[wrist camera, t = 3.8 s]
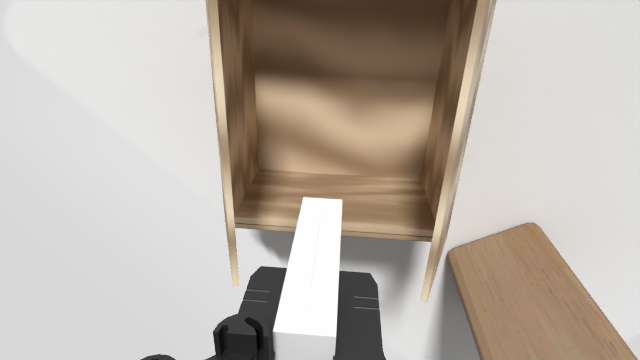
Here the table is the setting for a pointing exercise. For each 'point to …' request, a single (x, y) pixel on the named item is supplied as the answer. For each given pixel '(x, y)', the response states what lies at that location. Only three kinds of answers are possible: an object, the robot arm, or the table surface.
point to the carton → (342, 109)
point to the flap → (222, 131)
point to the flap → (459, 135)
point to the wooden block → (530, 301)
